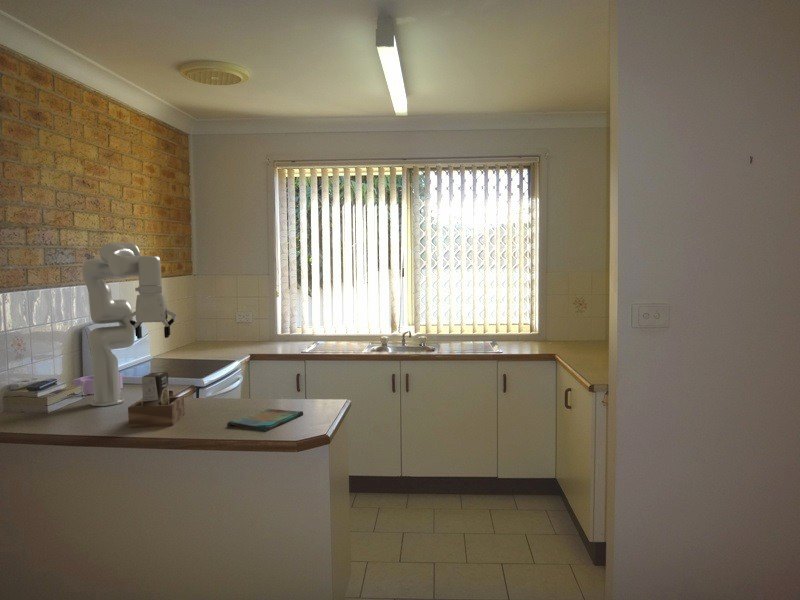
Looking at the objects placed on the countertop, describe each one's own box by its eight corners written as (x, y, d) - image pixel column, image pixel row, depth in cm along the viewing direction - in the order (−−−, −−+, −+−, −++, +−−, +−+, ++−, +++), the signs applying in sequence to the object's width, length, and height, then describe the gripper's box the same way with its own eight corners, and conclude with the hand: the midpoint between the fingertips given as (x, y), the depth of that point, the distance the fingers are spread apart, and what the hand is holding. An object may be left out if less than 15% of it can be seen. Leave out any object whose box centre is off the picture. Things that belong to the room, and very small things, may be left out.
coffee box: (161, 421, 219) (159, 376, 218) (143, 421, 219) (140, 376, 218) (170, 414, 228) (168, 371, 227) (153, 415, 228) (151, 371, 227)
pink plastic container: (113, 386, 293) (112, 371, 293) (127, 388, 286) (127, 374, 285) (70, 394, 277) (69, 379, 276) (85, 397, 270) (84, 381, 269)
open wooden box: (143, 416, 230) (142, 398, 230) (184, 414, 232) (183, 396, 231) (129, 427, 216) (127, 407, 215) (172, 425, 217) (171, 405, 216)
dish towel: (225, 428, 212) (224, 421, 212) (266, 412, 234) (266, 406, 233) (266, 433, 205) (265, 425, 205) (304, 416, 226) (304, 409, 226)
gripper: (121, 291, 216) (124, 340, 217) (172, 290, 217) (174, 338, 219) (129, 290, 224) (132, 337, 225) (178, 289, 225) (180, 335, 226)
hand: (153, 337), depth 222 cm, fingers open, 9 cm apart
